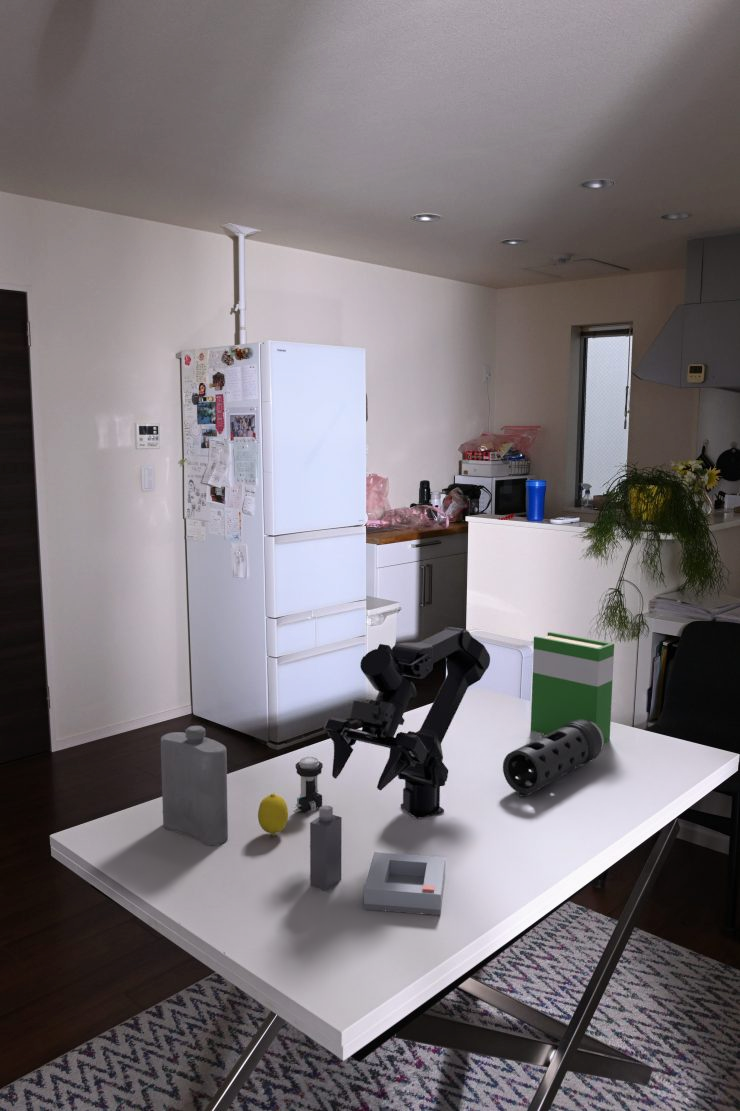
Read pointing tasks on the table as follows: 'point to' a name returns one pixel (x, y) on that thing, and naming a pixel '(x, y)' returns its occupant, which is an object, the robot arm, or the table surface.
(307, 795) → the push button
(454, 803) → the table surface
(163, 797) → the flask
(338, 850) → the plug
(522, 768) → the muzzle brake
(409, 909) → the socket box
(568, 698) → the hardback book
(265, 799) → the lemon
